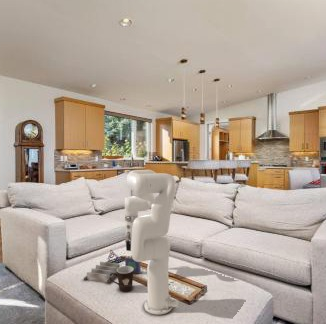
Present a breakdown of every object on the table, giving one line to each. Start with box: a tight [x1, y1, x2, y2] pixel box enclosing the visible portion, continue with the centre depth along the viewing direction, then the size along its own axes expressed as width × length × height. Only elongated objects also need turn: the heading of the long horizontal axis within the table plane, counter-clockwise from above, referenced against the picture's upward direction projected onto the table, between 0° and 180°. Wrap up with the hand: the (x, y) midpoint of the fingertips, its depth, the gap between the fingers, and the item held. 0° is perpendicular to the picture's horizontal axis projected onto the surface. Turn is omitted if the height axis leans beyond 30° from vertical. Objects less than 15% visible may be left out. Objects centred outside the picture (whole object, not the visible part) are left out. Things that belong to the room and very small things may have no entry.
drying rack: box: [83, 261, 121, 285], centre depth 146 cm, size 15×17×4 cm
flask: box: [124, 255, 142, 275], centre depth 148 cm, size 9×3×11 cm, turn 76°
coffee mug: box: [108, 265, 134, 293], centre depth 131 cm, size 12×9×10 cm
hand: (132, 247), depth 148 cm, fingers open, 9 cm apart
